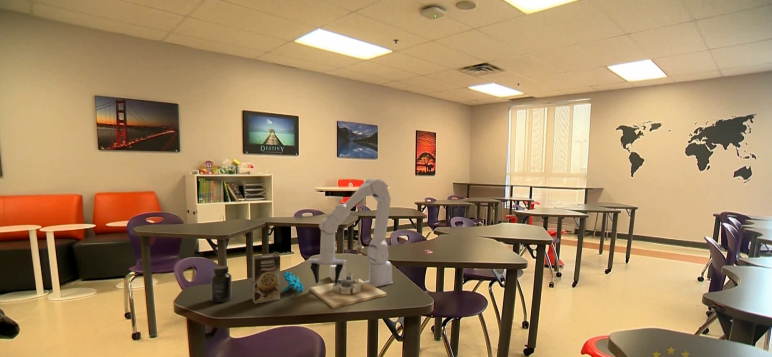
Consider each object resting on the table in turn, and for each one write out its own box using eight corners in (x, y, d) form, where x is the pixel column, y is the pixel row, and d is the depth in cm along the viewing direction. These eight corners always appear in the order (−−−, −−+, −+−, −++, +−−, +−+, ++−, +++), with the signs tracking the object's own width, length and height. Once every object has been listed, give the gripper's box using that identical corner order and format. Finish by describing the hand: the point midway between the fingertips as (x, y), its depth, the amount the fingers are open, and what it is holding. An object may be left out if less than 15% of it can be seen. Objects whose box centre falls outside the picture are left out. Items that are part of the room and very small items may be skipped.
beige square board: (358, 280, 148) (358, 270, 148) (386, 295, 130) (386, 283, 130) (309, 290, 136) (309, 278, 136) (333, 308, 118) (333, 295, 118)
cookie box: (254, 304, 121) (254, 258, 121) (252, 298, 127) (252, 255, 127) (280, 299, 126) (280, 256, 125) (277, 294, 131) (277, 252, 131)
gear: (299, 291, 129) (282, 272, 131) (288, 303, 129) (271, 283, 131) (308, 286, 140) (292, 268, 142) (298, 296, 140) (282, 278, 142)
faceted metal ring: (360, 294, 128) (360, 284, 128) (330, 294, 128) (330, 284, 128) (363, 280, 144) (363, 272, 144) (337, 280, 144) (337, 272, 144)
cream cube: (332, 281, 148) (332, 267, 148) (329, 277, 154) (329, 263, 154) (345, 279, 150) (345, 265, 150) (342, 275, 156) (342, 262, 156)
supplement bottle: (235, 298, 127) (235, 265, 127) (221, 304, 121) (221, 270, 121) (221, 295, 130) (221, 264, 130) (206, 302, 123) (206, 269, 123)
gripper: (347, 247, 139) (346, 280, 139) (312, 245, 139) (311, 279, 140) (344, 251, 132) (343, 286, 132) (307, 249, 132) (306, 284, 132)
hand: (326, 283), depth 135 cm, fingers open, 7 cm apart
